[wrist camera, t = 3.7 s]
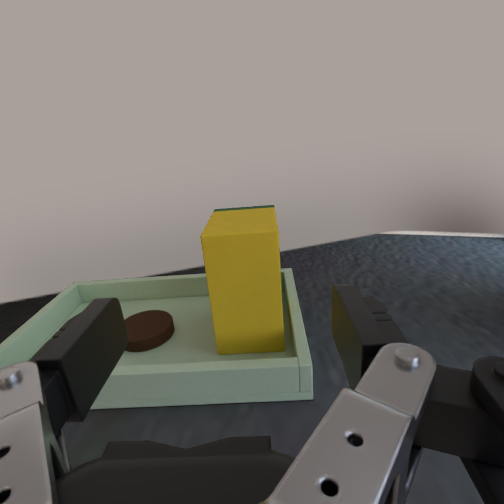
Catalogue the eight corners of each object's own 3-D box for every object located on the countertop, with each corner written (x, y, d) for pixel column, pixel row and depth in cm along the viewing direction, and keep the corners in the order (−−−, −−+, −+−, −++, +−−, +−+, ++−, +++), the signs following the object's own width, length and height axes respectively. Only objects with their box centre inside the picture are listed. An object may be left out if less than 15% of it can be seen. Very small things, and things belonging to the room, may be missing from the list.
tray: (292, 291, 32) (291, 267, 31) (313, 399, 20) (312, 365, 19) (80, 304, 33) (73, 281, 33) (-30, 414, 21) (-46, 382, 20)
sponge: (279, 303, 29) (273, 204, 26) (285, 351, 23) (278, 230, 20) (226, 306, 30) (214, 209, 26) (217, 355, 23) (200, 235, 20)
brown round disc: (180, 318, 28) (178, 308, 28) (166, 351, 24) (164, 339, 24) (130, 320, 29) (127, 311, 28) (108, 353, 25) (105, 343, 24)
